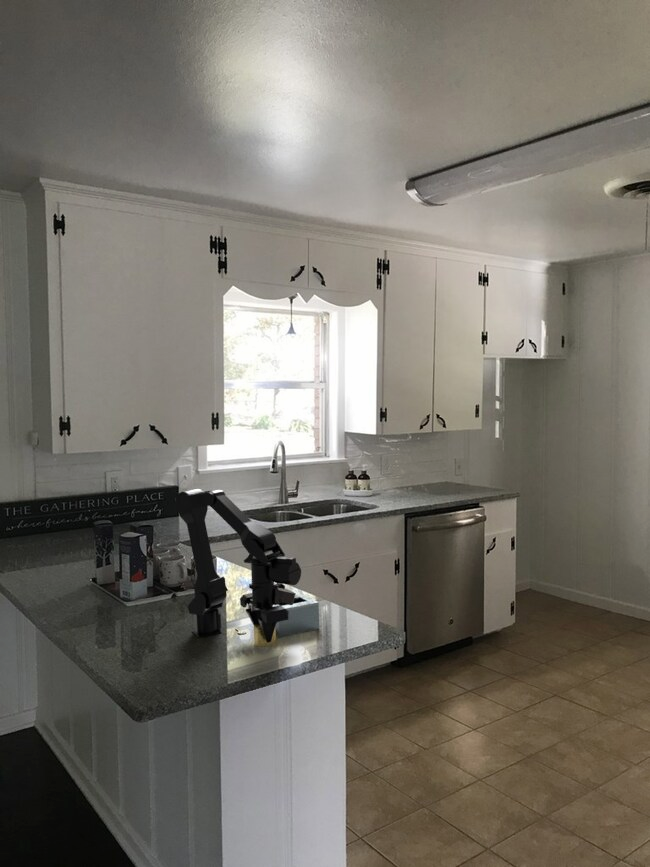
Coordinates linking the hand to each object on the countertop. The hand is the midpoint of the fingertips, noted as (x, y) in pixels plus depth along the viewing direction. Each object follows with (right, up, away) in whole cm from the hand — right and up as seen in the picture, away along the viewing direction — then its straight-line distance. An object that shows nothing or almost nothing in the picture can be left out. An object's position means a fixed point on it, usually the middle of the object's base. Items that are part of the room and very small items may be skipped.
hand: (265, 639), depth 191 cm
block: (0, -1, 0) cm, 1 cm away
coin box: (+6, 0, +11) cm, 13 cm away
